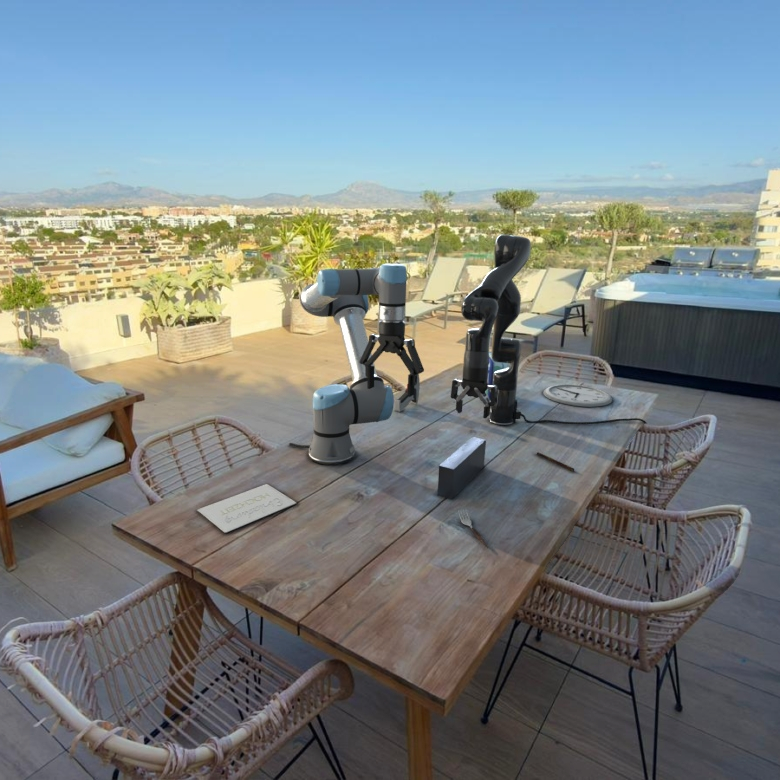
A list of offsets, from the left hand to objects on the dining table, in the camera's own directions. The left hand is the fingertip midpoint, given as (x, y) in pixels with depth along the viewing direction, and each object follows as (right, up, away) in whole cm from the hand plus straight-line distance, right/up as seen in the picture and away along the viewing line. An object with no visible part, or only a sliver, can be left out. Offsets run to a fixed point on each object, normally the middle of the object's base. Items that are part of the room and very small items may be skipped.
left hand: (390, 391), depth 154 cm
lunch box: (+45, -4, +79) cm, 91 cm away
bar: (+22, -27, +4) cm, 35 cm away
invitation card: (-39, -31, -13) cm, 51 cm away
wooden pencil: (+54, -23, +16) cm, 61 cm away
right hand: (+25, -7, +7) cm, 27 cm away
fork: (+21, -35, -23) cm, 47 cm away
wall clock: (+86, -2, +86) cm, 121 cm away
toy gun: (+7, -7, +67) cm, 68 cm away
